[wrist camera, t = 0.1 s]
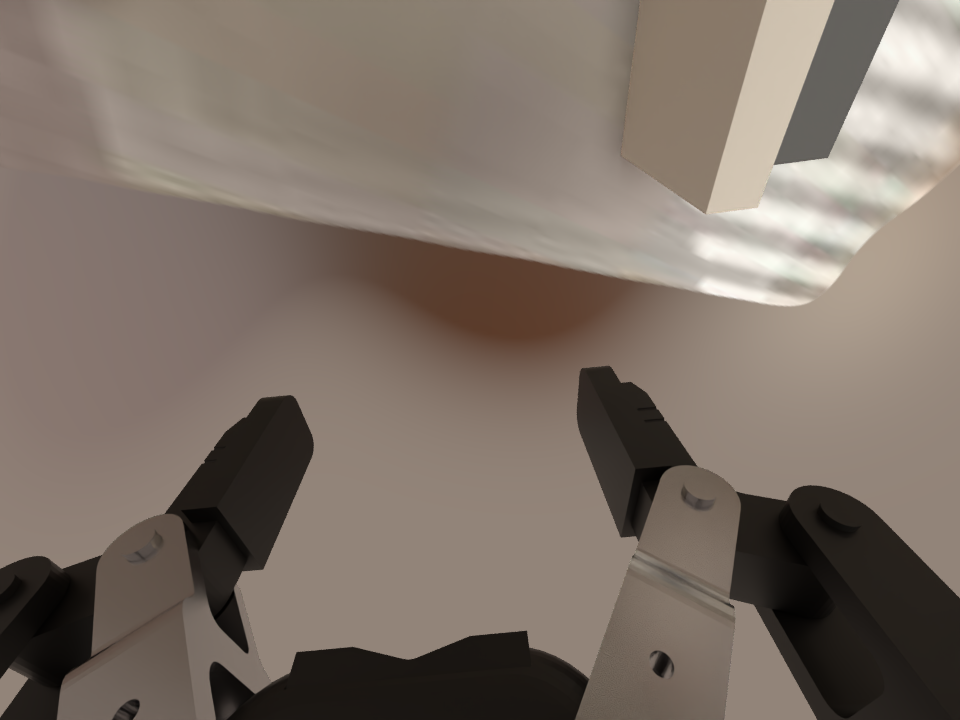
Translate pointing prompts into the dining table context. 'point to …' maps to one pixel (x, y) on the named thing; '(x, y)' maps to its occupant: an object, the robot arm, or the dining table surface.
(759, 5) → the tile
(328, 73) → the dining table surface
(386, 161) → the dining table surface
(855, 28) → the mat
